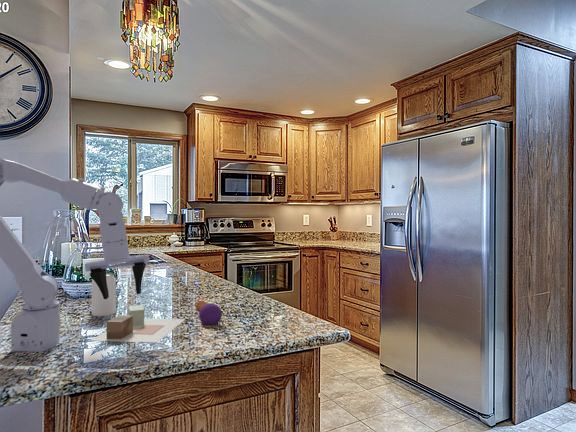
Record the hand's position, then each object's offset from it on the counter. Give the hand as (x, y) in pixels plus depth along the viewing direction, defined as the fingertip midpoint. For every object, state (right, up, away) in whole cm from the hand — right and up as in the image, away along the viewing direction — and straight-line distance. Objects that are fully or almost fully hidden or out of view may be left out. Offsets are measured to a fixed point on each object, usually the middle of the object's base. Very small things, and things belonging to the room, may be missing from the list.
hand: (122, 295), depth 100 cm
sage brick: (0, -9, +9) cm, 13 cm away
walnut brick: (0, -9, -2) cm, 9 cm away
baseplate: (+3, -10, +4) cm, 11 cm away
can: (-13, -10, +19) cm, 26 cm away
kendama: (+17, -10, +16) cm, 26 cm away
